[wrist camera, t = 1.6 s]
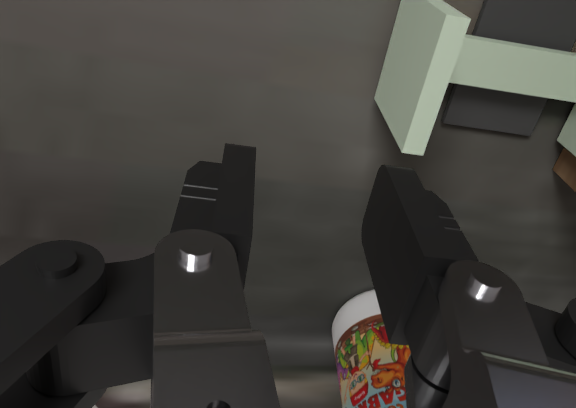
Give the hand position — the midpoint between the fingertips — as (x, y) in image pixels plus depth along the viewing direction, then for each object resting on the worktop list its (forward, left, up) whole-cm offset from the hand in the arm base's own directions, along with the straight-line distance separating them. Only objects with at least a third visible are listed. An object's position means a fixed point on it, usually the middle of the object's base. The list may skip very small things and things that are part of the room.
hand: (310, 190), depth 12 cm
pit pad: (0, +13, -17) cm, 21 cm away
